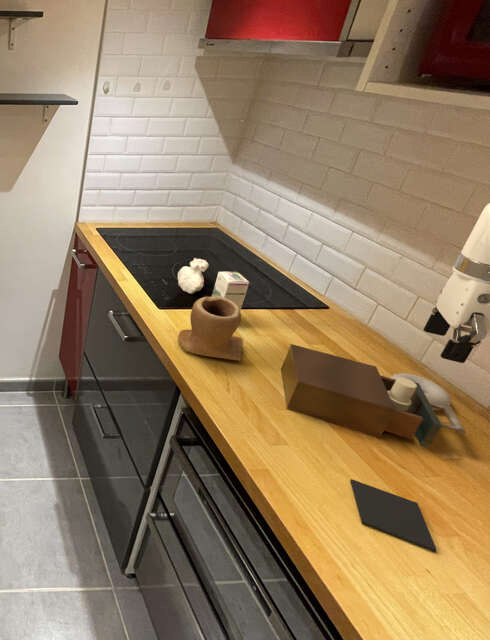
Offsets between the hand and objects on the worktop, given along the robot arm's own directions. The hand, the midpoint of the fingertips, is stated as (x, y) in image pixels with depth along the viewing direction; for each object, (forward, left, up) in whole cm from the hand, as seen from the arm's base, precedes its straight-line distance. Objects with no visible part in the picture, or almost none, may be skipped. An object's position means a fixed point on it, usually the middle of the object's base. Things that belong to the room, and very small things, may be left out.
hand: (442, 345), depth 87 cm
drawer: (+3, +3, -17) cm, 18 cm away
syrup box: (+35, -20, -19) cm, 44 cm away
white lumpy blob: (+44, -36, -19) cm, 59 cm away
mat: (+9, +30, -18) cm, 36 cm away
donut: (-4, -9, -19) cm, 21 cm away
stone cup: (+37, -3, -19) cm, 41 cm away
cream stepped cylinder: (+3, +3, -16) cm, 17 cm away
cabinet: (+14, +3, -18) cm, 23 cm away
